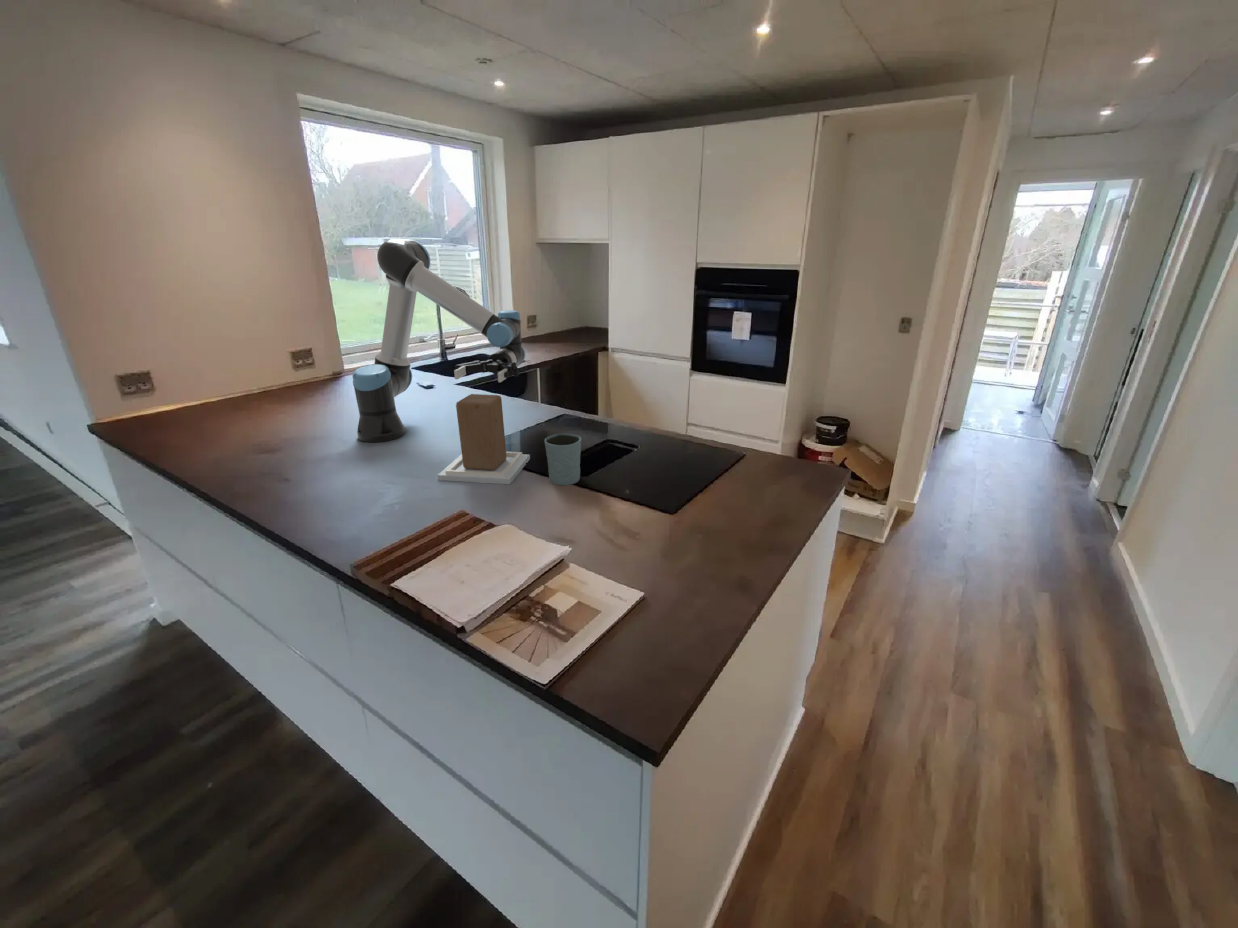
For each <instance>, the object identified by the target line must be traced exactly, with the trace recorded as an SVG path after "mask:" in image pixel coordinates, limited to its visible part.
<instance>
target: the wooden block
mask: <svg viewBox="0 0 1238 928" xmlns="http://www.w3.org/2000/svg"><path fill="white" fill-rule="evenodd" d="M455 408H456V416H457V425H458V426H457V427H458V435H459V441H460V450H461V454H462V459H463V466H464V468H466V469H479V470H496V469H497V468H498V467H499V466H500V465H501V464H502V463H503V462H504V461H505V460H506V452H507V448H506V435H505V424H504V413H503V402H502V396H501V395H498V394H479V393H470V394H468V395H467V396H465V397H464V398H463V397H462V399H460V400H459V401H457V402H456V403H455Z"/></svg>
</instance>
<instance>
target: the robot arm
mask: <svg viewBox="0 0 1238 928" xmlns="http://www.w3.org/2000/svg"><path fill="white" fill-rule="evenodd" d="M376 258H377V263H378V265H379V268H380V270H382V272H383V273H384V274H385V279H386V280H387V282H388V283H389V286H388V287H389V288H388V295H387V302H386V311H385V318H384V325H383V334H382V340H381V349H380V352H378V353H377V354H375V356H374V364H368V365H365V366H361V367H359V368H357V369H355V370H354V371H353V373H352V386H353V389H354V393H355V399H356V404H357V408H358V414H359V417H358V419H359V420H358V424H357V430H356V433H357V434H356V435H357V437H358V440H359V441H361V442H365V443H381V442H388V441H389V442H390V441H393V440H396V439H398V438H401V437H403V436H404V435H405V434H406V430H405V425H404V424H403V421H402V420H401V418H400V416H399V415H398V411H397V408H396V401H395V398H396V397H397V396H399V395H400V394H402V393H404V392H405V391H406V390H407V389H408V388H409V387H410V386H411V384H412V381H413V373H412V370H411V361H410V359H409V357H408V351H409V346H410V345H409V344H410V340H411V339H410V338H411V332H412V325H413V319H414V312H415V306H416V305H415V304H416V299H417V294H418V293H419V294H421V295H422V296H424V297H425V298H426V299H429V300H430V301H431V302H433V303H434V304H436V305H437V306H439V307H440V308H442V309H444V310H445V311H446V312H448V313H450V314H451V315H452V316H454V317H456V318H457V319H459V321H462V322H463V323H465V324H466V325H468V326H469V327H471V328H472V329H474V330H475V331H476V332H478V333H480V334H482V335H483V337H484V336H485V338H486V339H487V341H488V343H490V345H492V346H493V347H496V348H499V350H497V351H496V352H495V351H494V352H493V353H491V354H490V355H489V356H488V358H487V360H482V361H480V360H478V359H476V360H473V361H470V362H464V363H460V364H456V365H455V369H454V370H453V372H454V373H453V374H454V380H459V379H461V378H463V377H464V376H466V375H467V374H472V373H480V372H481V373H482V374H485V373H492V374H493V375H496V376H497V382H498V383H502V382H503V381H505V380H506V379H507V378H508V379H509V378H513V377H515V378H518V377H519V368H518V366H520V365H521V364H522V363H523V362H524V360H525V359H526V351H525V349H524V347H523V345H522V330H521V329H522V328H521V327H522V326H521V322H522V320H521V314H520V312H519V311H518V310H514V309H513V310H512V309H505V310H499V311H498V312H497V314H496V315H495V314H494V313H493V312H491V310H489V309H487V308H486V307H485V306H483V305H482V304H480V303H478V302H477V301H476V300H474V299H473V298H471V297H470V296H468V295H466V294H465V293H464V292H462V291H461V290H459V289H458V288H456V287H455V286H453V285H452V284H450V283H449V282H447V281H446V280H445V279H443V278H442V277H440V276H439V275H437V274H436V273H434V272H433V271H432V270H430V267H431V257H430V254H429V252H428V250H427V248H426V247H425V246H424V245H423V244H421V242H418V241H417V240H414V239H411V238H410V239H409V238H402V239H400V238H399V239H397V238H395V239H394V238H392V239H389V240H386V241H384V242H383V243H382V244H381V245H380V246H379V248H378V250H377V256H376ZM417 292H418V293H417Z"/></svg>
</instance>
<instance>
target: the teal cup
mask: <svg viewBox="0 0 1238 928" xmlns="http://www.w3.org/2000/svg"><path fill="white" fill-rule="evenodd" d="M544 448H545V453H546V458H547V459H546V461H547V467H548V477H549V482H550V483H551V484H554V485H557V486H571V485H574V484H576V483H579V481H580V479H581V465H580V464H581V453H582V452H581V450H582V437H581V436H580V435H577V434H573V433H555V434H552V435H549V436H547V437H546V438H544Z"/></svg>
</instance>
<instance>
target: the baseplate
mask: <svg viewBox="0 0 1238 928" xmlns="http://www.w3.org/2000/svg"><path fill="white" fill-rule="evenodd" d="M530 460H531V454H523V452H522V451H521V452H520V451H506V460H505V461H504V462H503V463H502V464H501V465H500V466H499V467H498V468H497V469H496V470H479V469H466V468H464V466H463V459H462V453H461V454H460V455H459V456H458V457H456V458H455V459H454V460H453V461H452V462H451V463H450V464H448V465H447V466H446V467H445V468H444V469H442V471H441V472H439V473H438V474H437V480H438V481H446V482H447V481H448V482H449V481H450V482H463V483H466V482H467V483H481V484H495V485H497V484H499V485H511V484H512V483H513V481H514V480H515V479H516V477H517V476H518V475H520V472H521V471H522V470H523V469H524V467H525V466H526V465H527V464H526V463H528V462H529V461H530Z"/></svg>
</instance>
